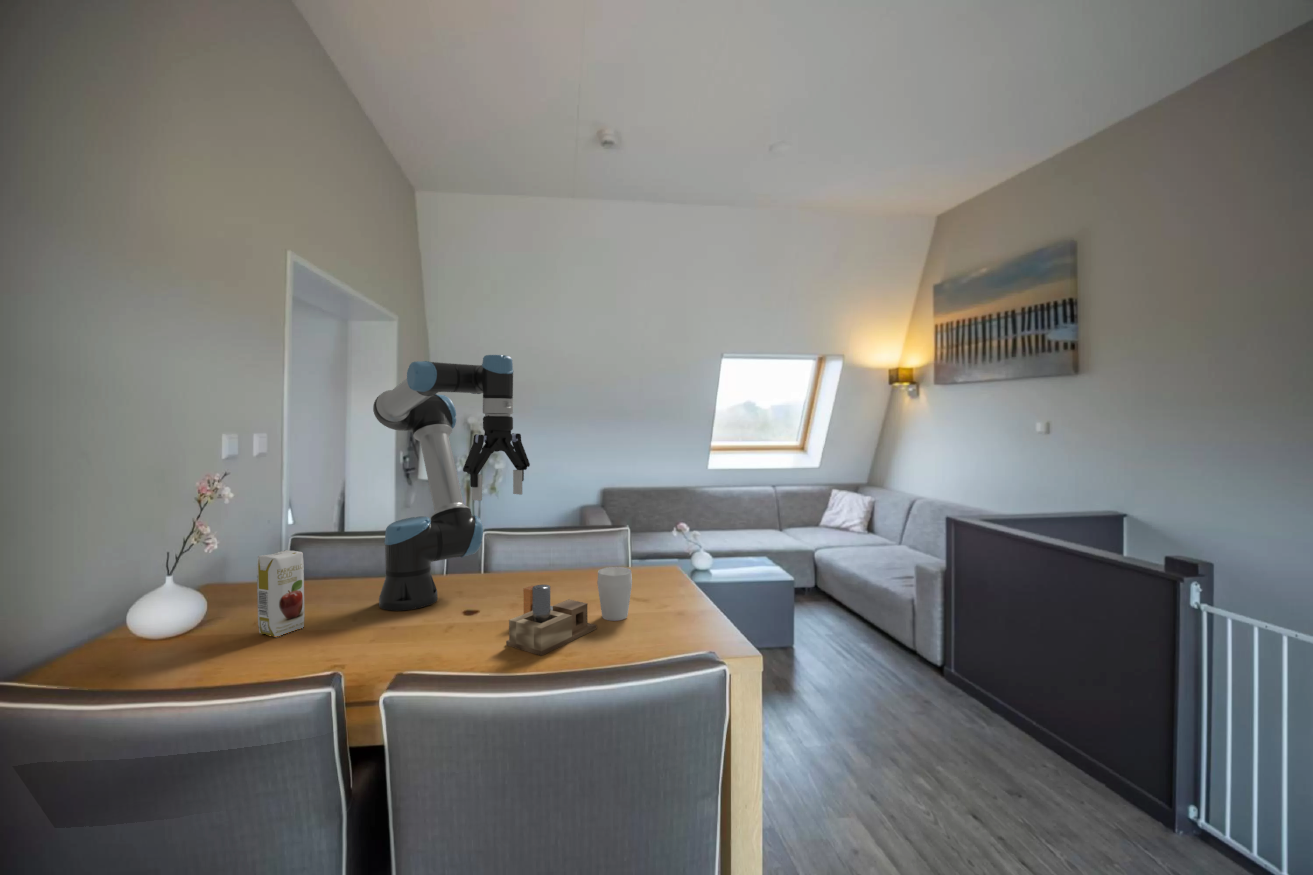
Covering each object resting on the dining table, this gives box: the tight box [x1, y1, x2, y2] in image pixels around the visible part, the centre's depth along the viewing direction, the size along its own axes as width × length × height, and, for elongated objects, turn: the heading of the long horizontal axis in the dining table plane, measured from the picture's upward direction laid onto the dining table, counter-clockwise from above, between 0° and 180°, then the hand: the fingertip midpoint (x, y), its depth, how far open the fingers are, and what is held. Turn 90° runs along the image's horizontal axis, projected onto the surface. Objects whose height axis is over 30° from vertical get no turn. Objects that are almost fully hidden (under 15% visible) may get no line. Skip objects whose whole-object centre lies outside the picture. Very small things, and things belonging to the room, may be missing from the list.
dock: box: [505, 598, 597, 656], centre depth 135 cm, size 11×19×6 cm, turn 147°
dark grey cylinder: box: [533, 584, 551, 623], centre depth 130 cm, size 4×4×12 cm
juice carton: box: [256, 549, 306, 637], centre depth 138 cm, size 8×9×19 cm
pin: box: [522, 585, 553, 614], centre depth 142 cm, size 14×3×8 cm, turn 57°
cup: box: [596, 566, 633, 622], centre depth 148 cm, size 9×9×12 cm
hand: (498, 497), depth 148 cm, fingers open, 13 cm apart
